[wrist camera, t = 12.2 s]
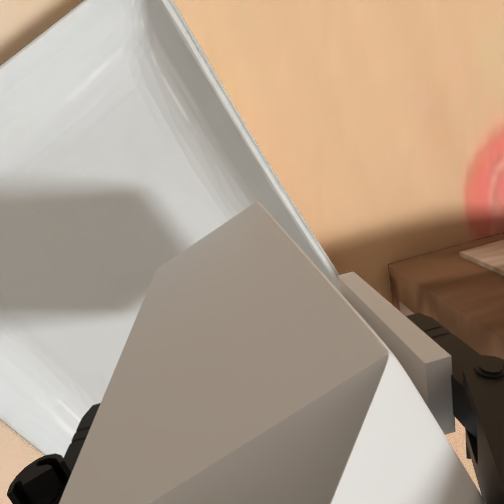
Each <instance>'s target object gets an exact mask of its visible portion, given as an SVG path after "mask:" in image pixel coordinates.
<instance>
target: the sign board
mask: <svg viewBox="0 0 504 504" xmlns="http://www.w3.org/2000/svg"><path fill="white" fill-rule="evenodd" d="M388 266H389V275H390V283H391V292H392V301H393V306H394V307H395V308H397V309H398V310H399V311H400V312H401V313H402V314H403V315H405V316H408V315H412V314H415V313H421V314H424V315H426V316H429V317H432V318H433V319H435V320H436V321H437V322H439V323H440V324H441V325H442V326H443V327H445V328H446V329H448V330H449V331H450V332H451V334H452V333H453V334H454V335H455V336H457V337H458V338H459V339H461V340H462V341H463V342H465V343H466V344H467V345H468V346H470V347H471V348H472V349H474V350H475V351H476V352H478V353H479V354H480V355H487V356H495V357H498V358H501V359H504V233H501V234H498V235H494V236H490V237H487V238H483V239H479V240H476V241H472V242H468V243H465V244H461V245H457V246H454V247H450V248H446V249H443V250H439V251H435V252H432V253H428V254H424V255H421V256H417V257H413V258H410V259H406V260H402V261H399V262H395V263H391V264H388Z"/></svg>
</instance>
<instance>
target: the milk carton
mask: <svg viewBox="0 0 504 504" xmlns="http://www.w3.org/2000/svg"><path fill="white" fill-rule="evenodd" d="M59 504H486V502H485V501H484V499H483V497H482V496H481V494H480V492H479V491H478V489H477V487H476V486H475V484H474V482H473V481H472V479H471V477H470V476H469V474H468V473H467V471H466V469H465V468H464V466H463V464H462V463H461V461H460V459H459V458H458V456H457V454H456V453H455V451H454V449H453V448H452V446H451V445H450V443H449V441H448V440H447V438H446V436H445V435H444V433H443V431H442V430H441V428H440V426H439V425H438V423H437V421H436V420H435V418H434V416H433V415H432V413H431V412H430V410H429V408H428V407H427V405H426V403H425V402H424V400H423V398H422V397H421V395H420V394H419V392H418V390H417V389H416V387H415V386H414V384H413V382H412V381H411V379H410V378H409V376H408V375H407V373H406V371H405V370H404V368H403V367H402V366H401V364H400V363H399V361H398V360H397V358H396V357H395V356H394V354H393V353H392V352H391V351H390V349H389V348H388V347H387V346H386V344H385V343H384V342H383V341H382V340H381V338H380V337H379V336H378V335H377V334H376V333H375V331H374V330H373V329H372V328H371V327H370V326H369V325H368V323H367V322H366V321H365V320H364V319H363V318H362V317H361V316H360V314H359V313H358V312H357V311H356V310H355V309H354V308H353V307H352V305H351V304H350V303H349V302H348V301H347V300H346V299H345V298H344V297H343V295H342V294H341V293H340V292H339V291H338V290H337V289H336V288H335V287H334V285H333V284H332V283H331V282H330V281H329V280H328V279H327V278H326V276H325V275H324V274H323V273H322V272H321V271H320V270H319V269H318V268H317V266H316V265H315V264H314V263H313V262H312V261H311V260H310V259H309V258H308V256H307V255H306V254H305V253H304V252H303V251H302V250H301V249H300V247H299V246H298V245H297V244H296V243H295V242H294V241H293V240H292V239H291V237H290V236H289V235H288V234H287V233H286V232H285V231H284V230H283V229H282V227H281V226H280V225H279V224H278V223H277V222H276V221H275V220H274V219H273V217H272V216H271V215H270V214H269V213H268V212H267V211H266V210H265V208H264V207H263V206H262V205H261V204H260V203H259V202H258V201H257V202H255V203H253V204H252V205H250V206H249V207H247V208H246V209H244V210H243V211H241V212H240V213H239V214H237V215H236V216H234V217H233V218H231V219H230V220H228V221H227V222H225V223H224V224H222V225H221V226H219V227H218V228H217V229H215V230H214V231H212V232H211V233H209V234H208V235H206V236H205V237H203V238H202V239H200V240H199V241H198V242H196V243H195V244H193V245H192V246H190V247H189V248H187V249H186V250H184V251H183V252H181V253H180V254H178V255H177V256H176V257H174V258H173V259H171V260H170V261H168V262H167V263H165V264H164V265H162V266H161V267H159V268H158V269H157V270H156V272H155V274H154V276H153V279H152V281H151V284H150V286H149V288H148V291H147V293H146V296H145V298H144V300H143V303H142V305H141V308H140V310H139V312H138V315H137V317H136V320H135V322H134V324H133V327H132V329H131V332H130V334H129V336H128V339H127V341H126V344H125V346H124V348H123V351H122V353H121V356H120V358H119V360H118V363H117V365H116V368H115V370H114V372H113V375H112V377H111V380H110V382H109V384H108V387H107V389H106V392H105V394H104V396H103V399H102V401H101V404H100V406H99V408H98V411H97V413H96V416H95V418H94V420H93V423H92V425H91V428H90V430H89V432H88V435H87V437H86V440H85V442H84V444H83V447H82V449H81V452H80V454H79V456H78V459H77V461H76V464H75V466H74V468H73V471H72V473H71V476H70V478H69V480H68V483H67V485H66V488H65V490H64V492H63V495H62V497H61V500H60V502H59Z"/></svg>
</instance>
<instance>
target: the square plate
mask: <svg viewBox="0 0 504 504" xmlns="http://www.w3.org/2000/svg"><path fill="white" fill-rule="evenodd" d="M257 201H258V202H259V203H260V204H261V205H262V206H263V207H264V208H265V210H266V211H267V212H268V213H269V214H270V215H271V216H272V217H273V219H274V220H275V221H276V222H277V223H278V224H279V225H280V226H281V227H282V229H283V230H284V231H285V232H286V233H287V234H288V235H289V236H290V237H291V239H292V240H293V241H294V242H295V243H296V244H297V245H298V246H299V247H300V249H301V250H302V251H303V252H304V253H305V254H306V255H307V256H308V258H309V259H310V260H311V261H312V262H313V263H314V264H315V265H316V266H317V268H318V269H319V270H320V271H321V272H322V273H323V274H324V275H325V276H326V278H327V279H328V280H329V281H330V282H331V283H332V284H333V285H334V287H335V288H336V289H337V290H338V291H339V292H340V288H339V282H338V275H340V274H339V273H338V271H337V270H336V268H335V267H334V265H333V264H332V262H331V261H330V259H329V258H328V256H327V254H326V253H325V251H324V250H323V248H322V247H321V245H320V243H319V242H318V240H317V239H316V237H315V236H314V234H313V233H312V231H311V230H310V228H309V227H308V225H307V223H306V222H305V220H304V219H303V217H302V215H301V214H300V212H299V211H298V209H297V208H296V206H295V205H294V203H293V202H292V200H291V198H290V197H289V195H288V194H287V192H286V190H285V189H284V187H283V186H282V184H281V182H280V181H279V179H278V178H277V176H276V174H275V173H274V171H273V169H272V168H271V166H270V165H269V163H268V161H267V160H266V158H265V156H264V155H263V153H262V151H261V150H260V148H259V146H258V145H257V143H256V141H255V140H254V138H253V136H252V135H251V133H250V131H249V130H248V128H247V126H246V125H245V123H244V121H243V120H242V118H241V116H240V114H239V113H238V111H237V109H236V107H235V106H234V104H233V102H232V101H231V99H230V97H229V95H228V94H227V92H226V90H225V89H224V87H223V85H222V83H221V82H220V80H219V78H218V76H217V75H216V73H215V71H214V69H213V68H212V66H211V64H210V63H209V61H208V59H207V57H206V56H205V54H204V52H203V50H202V49H201V47H200V45H199V44H198V42H197V40H196V38H195V37H194V35H193V33H192V32H191V30H190V28H189V27H188V25H187V23H186V22H185V20H184V18H183V16H182V15H181V13H180V11H179V10H178V8H177V7H176V5H175V3H174V2H173V0H84V1H82V2H81V3H79V4H78V5H77V6H76V7H74V8H73V9H72V10H71V11H70V12H68V13H67V14H65V15H64V16H63V17H62V18H60V19H59V20H58V21H57V22H55V23H54V24H53V25H52V26H50V27H49V28H48V29H47V30H45V31H44V32H43V33H42V34H40V35H39V36H38V37H36V38H35V39H34V40H33V41H31V42H30V43H29V44H27V45H26V46H25V47H23V48H22V49H21V50H20V51H19V52H17V53H16V54H15V55H14V56H12V57H11V58H9V59H8V60H7V61H6V62H4V63H3V64H2V65H1V66H0V420H1V421H2V422H4V423H5V424H6V425H7V426H9V427H10V428H11V429H12V430H14V431H15V432H16V433H18V434H19V435H20V436H21V437H23V438H24V439H25V440H26V441H28V442H29V443H30V444H31V445H33V446H34V447H35V448H36V449H38V450H39V451H40V452H41V453H43V454H44V455H49V454H55V453H56V454H59V455H62V457H63V458H64V456H65V453H66V451H67V449H68V447H69V445H70V443H72V442H71V440H72V438H73V436H74V434H75V433H76V430H77V427H78V425H79V423H80V421H81V419H82V417H83V416H84V415H85V414H86V412H87V411H88V410H89V409H90V408H91V407H92V405H95V404H99V403H101V401H102V399H103V396H104V394H105V392H106V389H107V387H108V384H109V382H110V380H111V377H112V375H113V372H114V370H115V368H116V365H117V363H118V360H119V358H120V356H121V353H122V351H123V348H124V346H125V344H126V341H127V339H128V336H129V334H130V332H131V329H132V327H133V324H134V322H135V320H136V317H137V315H138V312H139V310H140V308H141V305H142V303H143V300H144V298H145V296H146V293H147V291H148V288H149V286H150V284H151V281H152V279H153V276H154V274H155V272H156V270H157V269H158V268H159V267H161V266H162V265H164V264H165V263H167V262H168V261H170V260H171V259H173V258H174V257H176V256H177V255H178V254H180V253H181V252H183V251H184V250H186V249H187V248H189V247H190V246H192V245H193V244H195V243H196V242H198V241H199V240H200V239H202V238H203V237H205V236H206V235H208V234H209V233H211V232H212V231H214V230H215V229H217V228H218V227H219V226H221V225H222V224H224V223H225V222H227V221H228V220H230V219H231V218H233V217H234V216H236V215H237V214H239V213H240V212H241V211H243V210H244V209H246V208H247V207H249V206H250V205H252V204H253V203H255V202H257Z"/></svg>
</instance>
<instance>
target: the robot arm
mask: <svg viewBox="0 0 504 504" xmlns="http://www.w3.org/2000/svg"><path fill="white" fill-rule="evenodd" d="M338 282H339V288H340V293H341V294H342V295H343V297H344V298H345V299H346V300H347V301H348V302H349V303H350V304H351V305H352V307H353V308H354V309H355V310H356V311H357V312H358V313H359V314H360V316H361V317H362V318H363V319H364V320H365V321H366V322H367V323H368V325H369V326H370V327H371V328H372V329H373V330H374V331H375V333H376V334H377V335H378V336H379V337H380V338H381V340H382V341H383V342H384V343H385V344H386V346H387V347H388V348H389V349H390V351H391V352H392V353H393V354H394V356H395V357H396V358H397V360H398V361H399V363H400V364H401V366H402V367H403V368H404V370H405V371H406V373H407V375H408V376H409V378H410V379H411V381H412V382H413V384H414V386H415V387H416V389H417V390H418V392H419V394H420V395H421V397H422V398H423V400H424V402H425V403H426V405H427V407H428V408H429V410H430V412H431V413H432V415H433V416H434V418H435V420H436V421H437V423H438V425H439V426H440V428H441V430H442V431H443V433H444V435H445V434H449V433H452V432H455V417H456V418H457V419H458V420H459V422H460V423H461V424H462V425H463V426H464V427H465V430H466V454H467V458H468V459H472V463H473V466H474V470H475V473H476V477H477V480H478V484H479V487H480V491H481V494H482V497H483V499H484V501H485V502H486V504H504V359H501V358H498V357H495V356H487V355H480V354H479V353H478V352H476V351H475V350H474V349H472V348H471V347H470V346H468V345H467V344H466V343H465V342H463V341H462V340H461V339H459V338H458V337H457V336H455V335H454V334H453V333H452V334H451V332H450V331H449V330H448V329H446V328H445V327H443V326H442V325H441V324H440V323H439V322H437V321H436V320H435V319H433V318H432V317H429V316H426V315H424V314H421V313H415V314H412V315H408V316H405V315H403V314H402V313H401V312H400V311H399V310H398V309H397V308H395V307H394V306H393V305H392V304H391V303H390V302H388V301H387V300H386V299H385V298H384V297H383V296H381V295H380V294H379V293H378V292H377V291H376V290H375V289H373V288H372V287H371V286H370V285H369V284H368V283H366V282H365V281H364V280H363V279H362V278H361V277H360V276H358V275H357V274H356V273H355V272H354V271H352V272H349V273H345V274H341V275H338ZM100 404H101V403H99V404H95V405H92V407H91V408H90V409H89V410H88V411H87V412H86V414H85V415H84V416H83V417H82V419H81V421H80V423H79V425H78V427H77V430H76V433H75V434H74V436H73V438H72V440H71V442H72V443H70V445H69V447H68V449H67V451H66V453H65V456H64V458H63V457H62V455H59V454H56V453H55V454H49V455H45V456H43V457H41V458H39V459H37V460H35V461H34V462H32V463H31V464H29V465H28V466H27V467H25V468H24V469H23V470H22V471H21V472H20V473H19V474H18V475H17V476H16V478H15V479H14V480H13V482H12V483H11V485H10V487H9V489H8V492H7V496H8V497H9V499H10V500H11V502H12V503H13V504H59V502H60V500H61V497H62V495H63V492H64V490H65V488H66V485H67V483H68V480H69V478H70V476H71V473H72V471H73V468H74V466H75V464H76V461H77V459H78V456H79V454H80V452H81V449H82V447H83V444H84V442H85V440H86V437H87V435H88V432H89V430H90V428H91V425H92V423H93V420H94V418H95V416H96V413H97V411H98V408H99V406H100Z"/></svg>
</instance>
